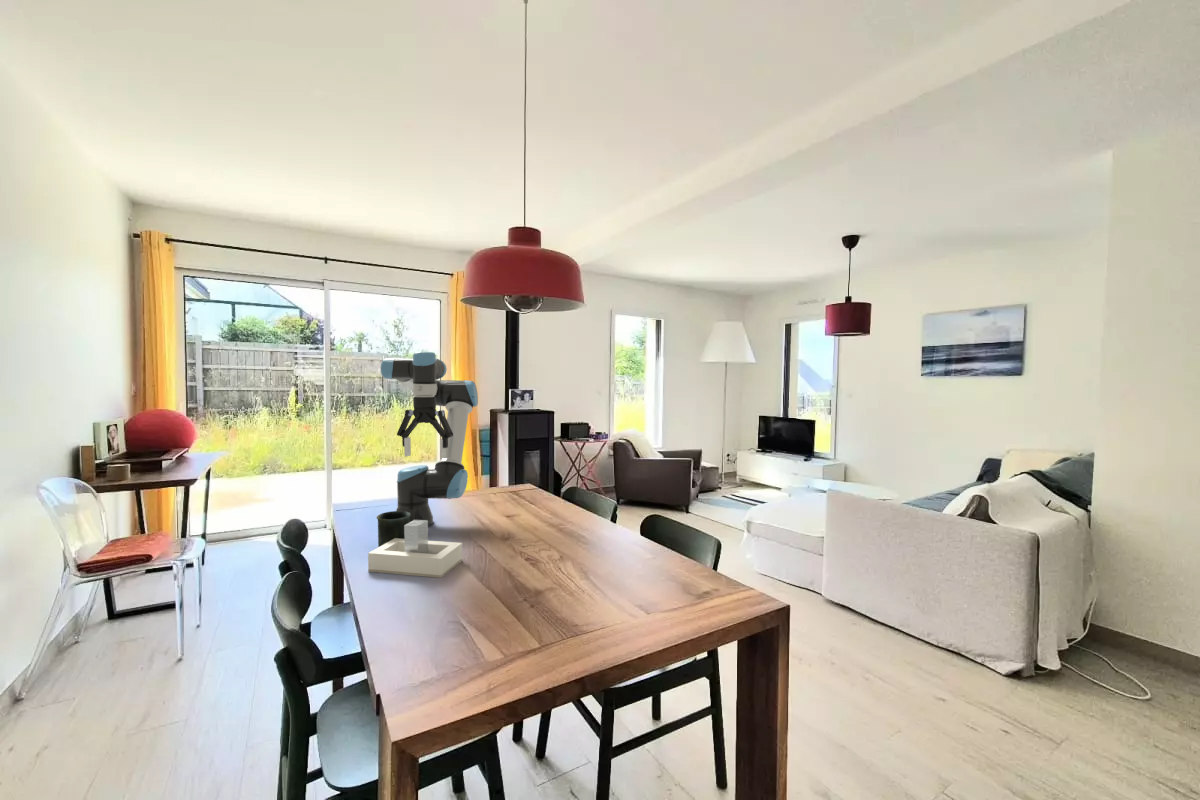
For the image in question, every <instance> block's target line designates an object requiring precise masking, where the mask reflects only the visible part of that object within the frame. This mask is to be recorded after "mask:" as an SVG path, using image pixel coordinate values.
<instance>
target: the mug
mask: <svg viewBox="0 0 1200 800" xmlns="http://www.w3.org/2000/svg"><path fill="white" fill-rule="evenodd" d="M410 516H411V514H410V513H409V512H406V511H396V510H393V511H387V512H382V513H380V514H378V515H377V516H376V519H377V534H378V535H377V538H378V539H377V548H378V547H380V546H382V545H384V544H385V543H387V542H389V541H391V540H393V539H394V538H399V539H405V537H404V525H406V524H408V523H410Z"/></svg>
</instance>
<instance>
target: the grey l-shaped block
mask: <svg viewBox="0 0 1200 800" xmlns="http://www.w3.org/2000/svg"><path fill="white" fill-rule="evenodd" d="M404 537H405V552H412V553H425V554H428V541H429V526H428V521H427V520H413V521H412V522H410V523H408V524H406V525H404Z"/></svg>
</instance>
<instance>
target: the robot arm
mask: <svg viewBox="0 0 1200 800" xmlns="http://www.w3.org/2000/svg"><path fill="white" fill-rule="evenodd" d="M436 356H437V355H436V354H435V352H431V351H416V352H413V355H412V358H401V357H400V358H397V357H392V358H384V359H383V360H382V361H381V364H380V373H381V376H382V377H383V378H384V379H387V380H395V381H398V382H400V383H401V384H402V385H404V386H406V387H407V388H408V389H410V390H411V391H412V393H413V396H414V397H413V398H412V399H413V401H412V402H413V403H412V404H413V410H412V409H405V410H404V417H403V419H402V421H401V424H400V425H399V428H398V430H397V432H396V436H398V437H401V439H402V440H401V441H402V447H403V448H404V457H409V456H412V453H411V451H412V449H411V448H412V447H411V446H412V445H411V442H412V441H411V440H412V439H411V436H410V435H411V434H412V432H413V431H414V430H415V428H417V426H418V424H421V423H425V424H430V425H432V426H433V428H434V429H435V431H436V433H438V435H440V437H441V438H440V439H439V458H440V460H439V461H437V462H436V463H435V466H434V469H433V468H432V469H429V466H428V464H427V465H425V464H424V465H423V464H422V465H421V464H419V465H413V466H407V467H405V468H401V469H400V470H399V471H398V472H397V480H396V483H397V485H396V488H397V489H396V490H397V508H396V510H395V511H406V512H409V513H410V514H411V516H410V522H412V521H413V520H427V521H428V527H429V526H430V525H432V524H433V523H434V516H433V513H432V511H431V507H430V504H429V499H435V500H436V499H439V500H441V499H444V500H445V499H447V500H452V499H460V498H461V497H462V496H463V495H464V493H465V492H466V490H467V485H468V477H469V476H468V471H467V470H466V469H465V465H463V463H462V460H463V453H464V446H465V440H466V432H467V427H468V426H467V425H468V419H469V414H471V413H472V412H473V409H474V408H475V407H477V406H478V404H479V396H478V388H477V385H476V382H474V381H473V380H465V379H463V380H455V379H453V380H451V379H450V380H449V379H448V380H447V379H446V380H444V379H443V380H441V379H442V378H443V377H444V376H445V375H446V374H447V369H448V368H447V364H446V363H445V362H444V361H443V360H441V359H439V358H436ZM437 407H444V408H445V409H446V411H447V417H446V413H445V412H446V411H445V410H444V409H441V410H437ZM412 416H414V418H413V419H412ZM436 416H437V417H438V419H437V418H436ZM411 419H412V421H411ZM438 420H439V421H440V422H439V421H438ZM410 421H411V422H410ZM409 423H410V424H409Z"/></svg>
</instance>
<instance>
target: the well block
mask: <svg viewBox="0 0 1200 800" xmlns="http://www.w3.org/2000/svg"><path fill="white" fill-rule="evenodd" d="M367 555H368V557H367V561H368V562H367V563H368V567H367V569H368V571H367V572H368V573H369V572H370V573H381V574H389V575H390V574H392V575H403V576H415V577H428V578H437V579H441V578H443V577H444V576H445V575H446V574H448V573H449V572H450V571H451V570H452V569H454V568H455V567H456V566H457V565H459V564H460V563H461V562H462V561H463V542H453V541H452V542H451V541H440V540H437V541H436V540H428V554H425V553H412V552H405V539H399V538H394V539H393V540H391V541H389V542H387V543H385V544H384V545H382V546H380V547H378V546H377V548H375V549H373V550H371V551H369V552H368V553H367Z"/></svg>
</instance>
